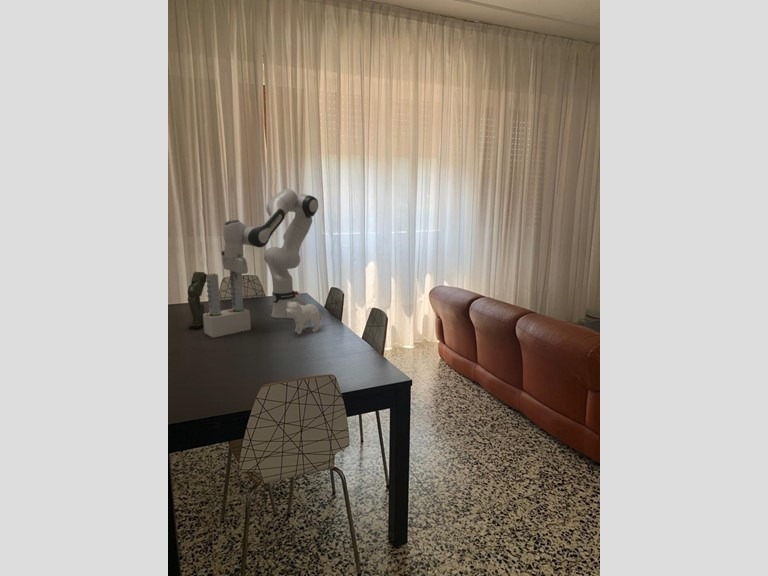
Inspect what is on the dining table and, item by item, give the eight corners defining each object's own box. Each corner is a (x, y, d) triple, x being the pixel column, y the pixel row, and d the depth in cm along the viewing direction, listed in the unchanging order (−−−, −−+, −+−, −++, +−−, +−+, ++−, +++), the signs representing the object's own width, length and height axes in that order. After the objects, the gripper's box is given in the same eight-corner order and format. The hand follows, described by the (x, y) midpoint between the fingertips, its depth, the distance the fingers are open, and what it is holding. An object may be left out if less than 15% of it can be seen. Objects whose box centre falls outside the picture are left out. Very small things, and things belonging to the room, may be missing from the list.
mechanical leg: (194, 330, 223) (198, 271, 224) (182, 329, 225) (186, 270, 226) (210, 329, 237) (214, 273, 238) (198, 328, 238) (202, 272, 239)
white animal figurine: (316, 323, 241) (315, 293, 237) (330, 327, 234) (329, 296, 231) (279, 334, 222) (278, 302, 218) (293, 338, 215) (292, 305, 212)
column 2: (239, 313, 231) (237, 271, 226) (243, 314, 228) (241, 272, 224) (231, 314, 228) (229, 272, 223) (235, 316, 225) (232, 273, 220)
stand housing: (241, 325, 236) (240, 306, 234) (250, 329, 229) (249, 309, 227) (204, 333, 223) (202, 312, 220) (212, 337, 215) (211, 316, 213)
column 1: (217, 316, 223) (214, 273, 218) (220, 318, 220) (217, 274, 215) (208, 318, 220) (205, 274, 215) (212, 319, 217) (208, 275, 212)
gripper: (250, 254, 216) (251, 282, 219) (231, 250, 231) (233, 276, 234) (237, 256, 212) (239, 284, 215) (219, 251, 226) (221, 278, 229)
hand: (236, 280), depth 224 cm, fingers closed on column 2, 4 cm apart
